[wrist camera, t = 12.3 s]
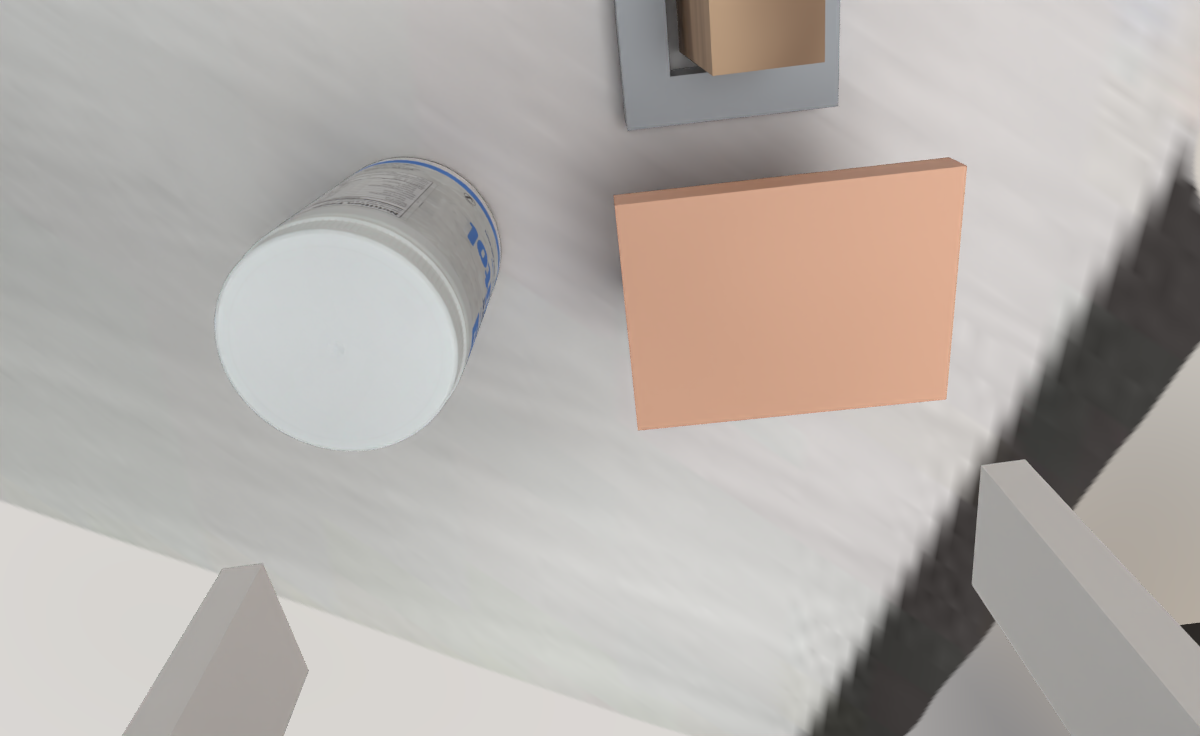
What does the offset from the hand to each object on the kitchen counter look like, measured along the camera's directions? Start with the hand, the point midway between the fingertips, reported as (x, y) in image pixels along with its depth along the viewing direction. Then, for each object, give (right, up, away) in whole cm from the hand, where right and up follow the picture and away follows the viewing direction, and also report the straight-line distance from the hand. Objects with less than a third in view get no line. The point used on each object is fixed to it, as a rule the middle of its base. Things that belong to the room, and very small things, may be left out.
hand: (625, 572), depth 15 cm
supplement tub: (-11, +11, +29) cm, 32 cm away
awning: (+6, +12, +28) cm, 31 cm away
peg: (+5, +21, +24) cm, 32 cm away
